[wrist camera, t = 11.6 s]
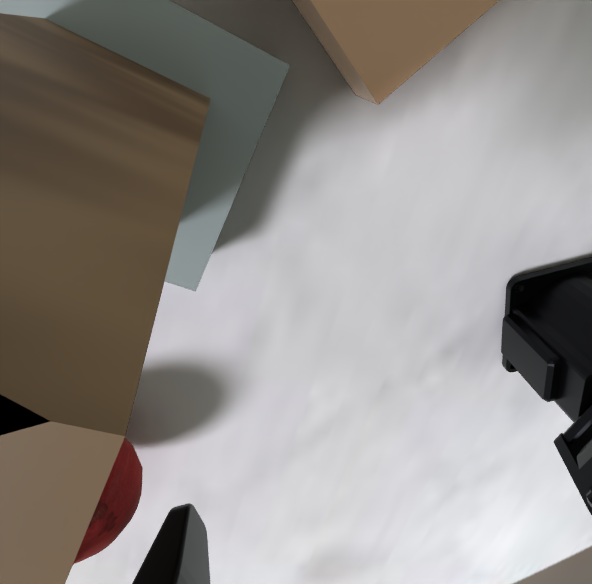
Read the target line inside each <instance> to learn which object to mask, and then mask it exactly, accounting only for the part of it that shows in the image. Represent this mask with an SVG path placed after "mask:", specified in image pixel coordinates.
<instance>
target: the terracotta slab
mask: <svg viewBox="0 0 592 584" xmlns="http://www.w3.org/2000/svg"><path fill="white" fill-rule="evenodd" d="M292 1H293V2H294V4H295V5H296V7H297V8H298V10H299V11H300V13H301V14H302V16H303V17H304V19H305V20H306V22H307V23H308V25H309V26H310V28H311V29H312V31H313V32H314V34H315V35H316V37H317V38H318V40H319V41H320V43H321V44H322V46H323V47H324V49H325V50H326V51H327V53H328V54H329V56H330V57H331V59H332V60H333V62H334V63H335V65H336V66H337V68H338V69H339V71H340V72H341V74H342V75H343V77H344V78H345V80H346V81H347V83H348V84H349V86H350V87H351V89H352V90H353V92H354V93H355V95H357V96H359V97H361V98H364V99H366V100H368V101H371V102H373V103H375V104H379V103H380V102H382V101H383V100H384V99H385V98H386V97H387V96H389V95H390V94H391V93H392V92H393V91H394V90H396V89H397V88H398V87H399V86H400V85H401V84H402V83H404V82H405V81H406V80H407V79H408V78H409V77H411V76H412V75H413V74H414V73H415V72H416V71H418V70H419V69H420V68H421V67H422V66H423V65H425V64H426V63H427V62H428V61H429V60H430V59H432V58H433V57H434V56H435V55H436V54H437V53H439V52H440V51H441V50H442V49H443V48H444V47H446V46H447V45H448V44H449V43H450V42H451V41H452V40H454V39H455V38H456V37H457V36H458V35H459V34H461V33H462V32H463V31H464V30H465V29H466V28H468V27H469V26H470V25H471V24H472V23H473V22H475V21H476V20H477V19H478V18H479V17H480V16H482V15H483V14H484V13H485V12H486V11H487V10H489V9H490V8H491V7H492V6H493V5H494V4H495V3H497V2H498V1H499V0H292Z"/></svg>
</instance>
